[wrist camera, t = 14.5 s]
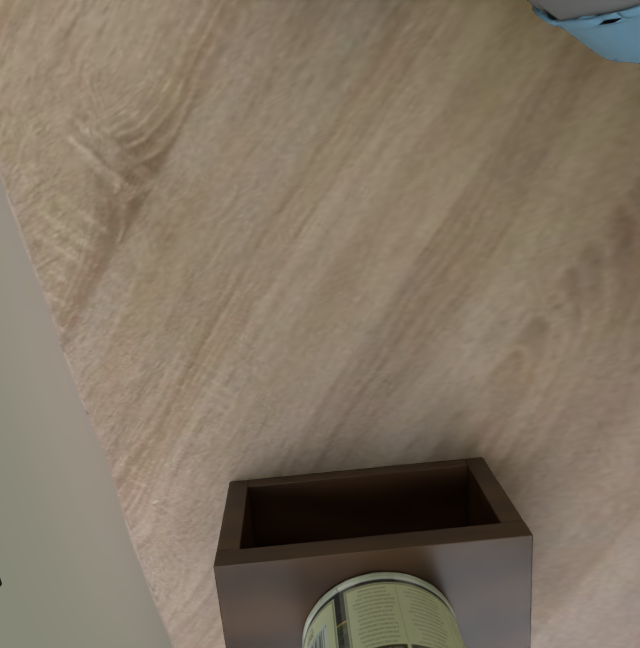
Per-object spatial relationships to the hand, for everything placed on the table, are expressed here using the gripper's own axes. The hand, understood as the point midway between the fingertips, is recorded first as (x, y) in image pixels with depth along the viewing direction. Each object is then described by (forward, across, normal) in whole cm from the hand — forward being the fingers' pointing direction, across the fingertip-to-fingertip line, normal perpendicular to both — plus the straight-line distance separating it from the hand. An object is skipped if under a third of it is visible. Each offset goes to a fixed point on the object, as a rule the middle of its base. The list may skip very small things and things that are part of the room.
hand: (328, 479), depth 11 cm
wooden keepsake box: (+31, +1, -26) cm, 40 cm away
